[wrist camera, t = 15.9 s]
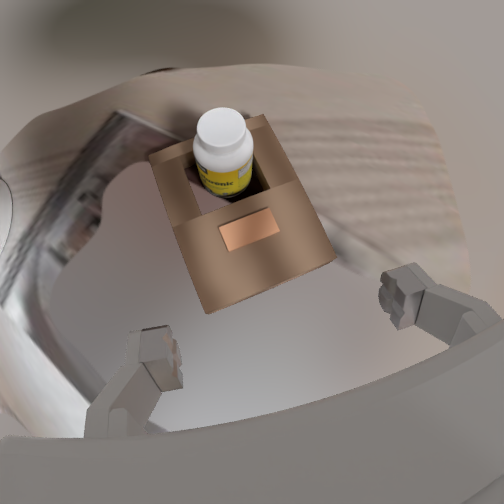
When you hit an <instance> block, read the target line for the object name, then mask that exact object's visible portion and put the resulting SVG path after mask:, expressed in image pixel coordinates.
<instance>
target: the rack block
mask: <svg viewBox="0 0 504 504" xmlns="http://www.w3.org/2000/svg"><path fill="white" fill-rule="evenodd" d="M245 123H246V128H247V129H248V130H249V131H250V133H251V135H252V138H253V160H252V167H253V169H254V171H255V173H256V175H257V178H258V180H259V182H260V184H261V186H262V188H263V190H264V192H261V193H258V194H256V195H253V196H250V197H248V198H245V199H242V200H240V201H237V202H235V203H232V204H230V205H227V206H224V207H222V208H219V209H217V210H214V211H212V212H209V213H207V214H204V215H202V214H201V212H200V209H199V207H198V204H197V202H196V199H195V196H194V194H193V191H192V189H191V186H190V184H189V181H188V178H187V176H186V173H185V171H184V169H185V168H188V167H190V166H193V165H195V164H196V160H195V157H194V152H193V141H194V138H195V137H194V138H191V139H188V140H186V141H183V142H180V143H178V144H175V145H173V146H170V147H168V148H165V149H163V150H160V151H158V152H155V153H153V154H151V155H148V158H149V161H150V164H151V167H152V170H153V173H154V176H155V179H156V182H157V185H158V188H159V191H160V194H161V197H162V200H163V203H164V206H165V208H166V211H167V214H168V217H169V220H170V223H171V225H172V228H173V231H174V234H175V236H176V239H177V242H178V245H179V247H180V250H181V253H182V255H183V258H184V260H185V263H186V266H187V268H188V271H189V274H190V276H191V279H192V281H193V284H194V286H195V289H196V291H197V294H198V297H199V299H200V302H201V304H202V306H203V309H204V311H205V313H206V314H211V313H214V312H216V311H219V310H221V309H224V308H226V307H228V306H231V305H233V304H236V303H238V302H241V301H243V300H245V299H248V298H250V297H253V296H255V295H257V294H260V293H262V292H264V291H267V290H269V289H271V288H274V287H276V286H278V285H281V284H283V283H285V282H288V281H290V280H292V279H295V278H297V277H299V276H301V275H304V274H306V273H308V272H310V271H313V270H315V269H317V268H319V267H322V266H324V265H326V264H328V263H330V262H331V261H333V260H334V259H336V258H337V256H336V254H335V252H334V249H333V247H332V245H331V243H330V241H329V239H328V237H327V235H326V233H325V230H324V228H323V226H322V224H321V222H320V220H319V218H318V216H317V214H316V212H315V210H314V208H313V206H312V204H311V202H310V200H309V198H308V196H307V194H306V192H305V190H304V188H303V186H302V184H301V182H300V180H299V178H298V177H297V175H296V173H295V171H294V169H293V167H292V165H291V163H290V161H289V159H288V158H287V156H286V154H285V152H284V150H283V148H282V146H281V145H280V143H279V141H278V139H277V137H276V136H275V134H274V132H273V130H272V128H271V127H270V125H269V123H268V121H267V120H266V118H265V116H264V114H262V115H259V116H255V117H252V118H249V119H246V120H245Z"/></svg>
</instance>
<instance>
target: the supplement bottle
mask: <svg viewBox="0 0 504 504" xmlns="http://www.w3.org/2000/svg"><path fill="white" fill-rule="evenodd" d="M193 152H194V157H195V160H196V164H197V167H198V171H199V174H200V178H201V181H202V184H203V186H204V187H205V189H206V190H207V191H208V192H209V193H211V194H212V195H214V196H216V197H220V198H231V197H235V196H237V195H239V194H240V193H242V192H243V191H244V190H245V189H246V188H247V186H248V185H249V183H250V180H251V175H252V160H253V138H252V135H251V133H250V131H249V130H248V129H247V128H246V123H245V120H244V118H243V117H242V115H241V114H240V113H238V112H237V111H235V110H233V109H230V108H215V109H212V110H209V111H208V112H206V113H205V114H203V115H202V117H201V118H200V119H199V121H198V124H197V134H196V136H195V138H194V141H193Z"/></svg>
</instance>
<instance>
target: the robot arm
mask: <svg viewBox="0 0 504 504" xmlns="http://www.w3.org/2000/svg"><path fill="white" fill-rule="evenodd" d="M11 218H12V199H11V194H10V191H9V188H8V186H7V185H6V183H5V182H4V181H3V180H1V179H0V254H1V252H2V250H3V247H4V245H5V242H6V240H7V236H8V233H9V229H10V224H11ZM380 281H381V282H382V284H383V285H382V286H381V288H380V289H379V294H378V297H379V303H380V305H381V307H382V309H383V310H384V312H386V313H389V314H390V320H391V322H392V323H393V324H394V326H395V327H396V329H397V330H401V329H403V328H406V327H409V326H412V325H416V326H417V327H419V328H421V329H423V330H424V331H426V332H428V333H429V334H431V335H433V336H434V337H436V338H438V339H440V340H441V341H443V342H445V343H446V344H448V345H450V347H449V349H447V350H445V351H443V352H441V353H439V354H437V355H435V356H433V357H430V358H428V359H426V360H424V361H422V362H419V363H417V364H415V365H413V366H410V367H408V368H406V369H403V370H401V371H399V372H396V373H394V374H391V375H389V376H386V377H384V378H381V379H379V380H377V381H374V382H371V383H368V384H365V385H363V386H360V387H357V388H354V389H351V390H349V391H345V392H343V393H340V394H336V395H334V396H331V397H327V398H324V399H321V400H318V401H314V402H311V403H307V404H304V405H300V406H297V407H293V408H289V409H286V410H282V411H278V412H274V413H270V414H266V415H261V416H257V417H253V418H248V419H244V420H239V421H234V422H229V423H224V424H218V425H213V426H207V427H201V428H195V429H188V430H181V431H173V432H165V433H156V434H148V433H147V432H146V431H145V430H144V429H143V428H144V426H145V425H146V423H147V421H148V419H149V417H150V415H151V413H152V411H153V409H154V408H155V406H156V404H157V402H158V400H159V398H160V396H161V394H162V393H161V392H165V391H171V390H176V389H182V388H183V374H182V372H181V370H180V366H181V365H182V359H181V354H180V349H179V346H178V343H177V341H176V340H175V339H173V337H172V336H173V335H172V330H171V328H170V326H169V325H164V326H158V327H152V328H146V329H142V330H136V331H130V332H129V334H128V339H127V349H126V357H125V366H121V367H120V368H119V369H118V371H117V372H116V373H115V374H114V376H113V377H112V378H111V380H110V381H109V382H108V383H107V385H106V386H105V387H104V388H103V390H102V391H101V392H100V394H99V395H98V396H97V397H96V399H95V400H94V401H93V403H92V404H91V405H90V407H89V408H88V409H87V413H86V421H85V430H84V438H43V437H26V436H15V435H8V436H5V437H3V438H2V439H1V440H0V504H504V319H501V317H500V316H499V315H498V314H497V313H496V312H495V311H494V309H492V307H491V306H490V305H489V304H488V303H487V302H485V301H483V300H480V299H478V298H475V297H473V296H470V295H467V294H465V293H462V292H460V291H457V290H454V289H452V288H449V287H446V286H444V285H441V284H440V285H437V284H436V283H435V282H434V281H433V280H432V279H431V278H430V277H429V276H428V275H427V273H426V272H425V271H424V270H423V269H422V268H421V267H420V266H419V265H418V264H417V263H414V262H413V263H410V264H407V265H404V266H401V267H398V268H395V269H392V270H388V271H385V272H383V273H382V274H381V278H380Z"/></svg>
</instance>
